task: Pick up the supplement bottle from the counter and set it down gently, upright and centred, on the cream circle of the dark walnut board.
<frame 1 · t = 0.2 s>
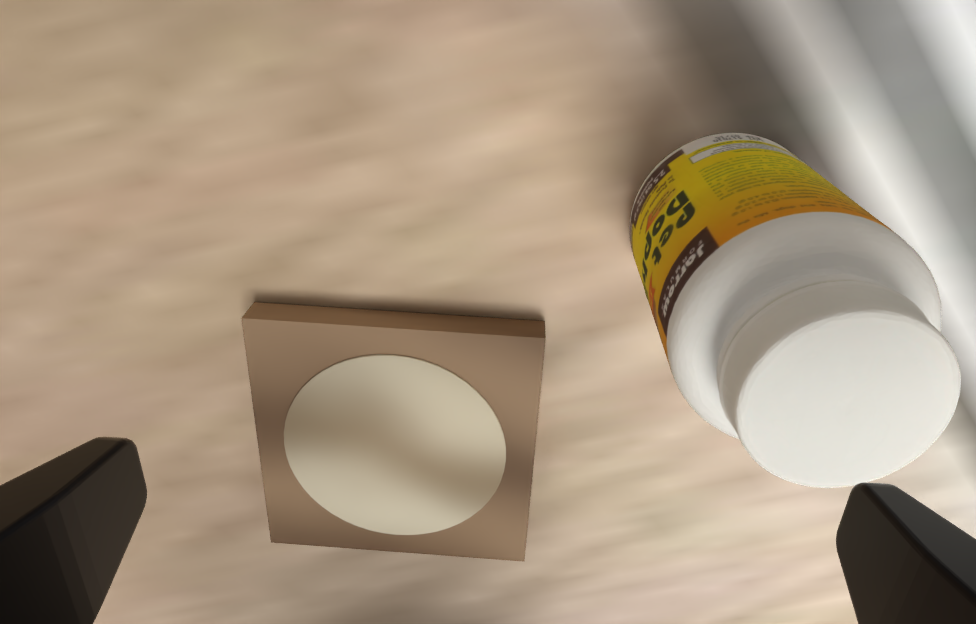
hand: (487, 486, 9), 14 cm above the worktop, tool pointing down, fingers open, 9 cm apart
supplement bottle: (713, 215, 22), on the worktop
walnut board: (400, 430, 26), on the worktop
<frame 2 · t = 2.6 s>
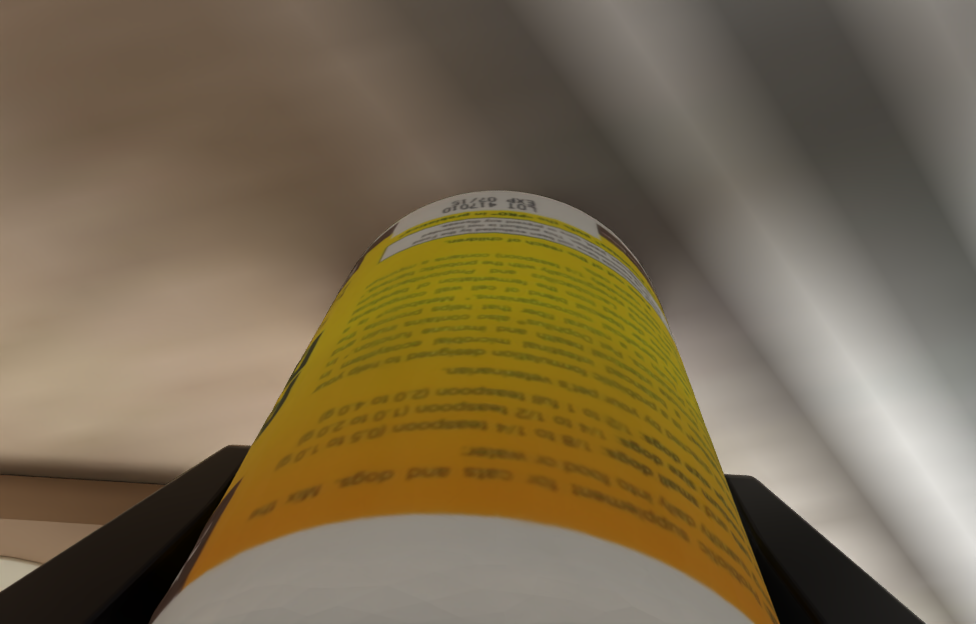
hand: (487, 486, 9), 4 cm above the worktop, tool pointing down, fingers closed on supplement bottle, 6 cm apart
supplement bottle: (499, 327, 12), on the worktop, touching gripper
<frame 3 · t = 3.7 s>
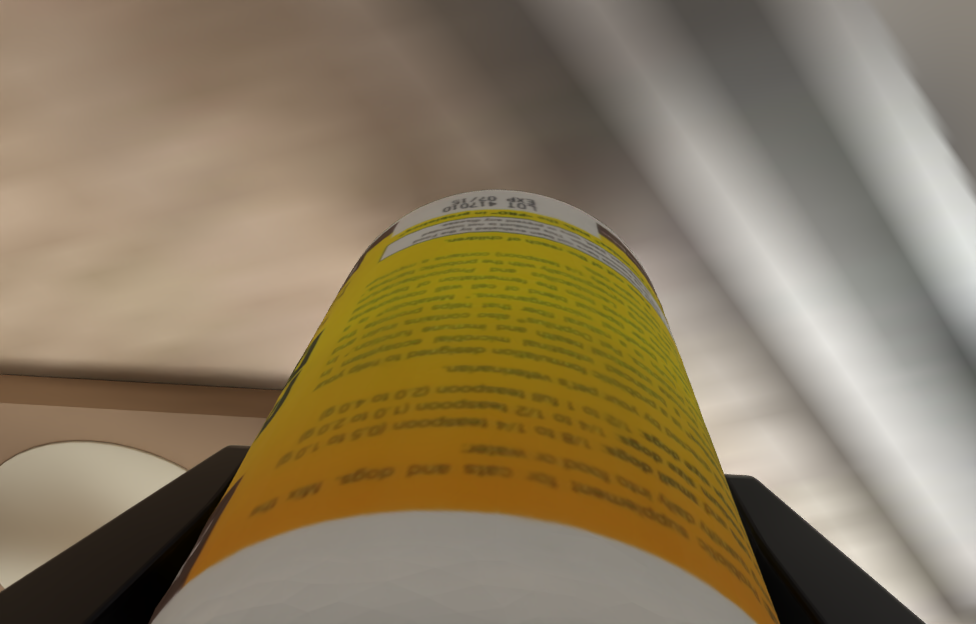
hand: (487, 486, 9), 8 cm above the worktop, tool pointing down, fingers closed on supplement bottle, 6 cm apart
supplement bottle: (499, 326, 13), point 3 cm above the worktop, touching gripper
walnut board: (146, 526, 20), on the worktop
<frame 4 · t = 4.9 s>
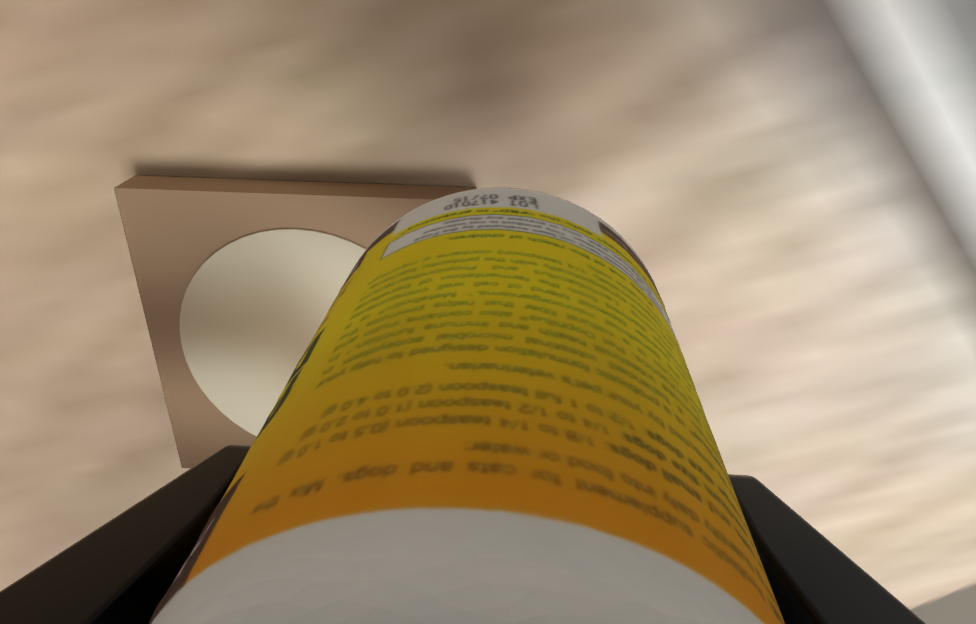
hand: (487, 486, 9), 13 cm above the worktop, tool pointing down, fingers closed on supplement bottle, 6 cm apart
supplement bottle: (501, 325, 12), point 8 cm above the worktop, touching gripper
walnut board: (320, 331, 22), on the worktop
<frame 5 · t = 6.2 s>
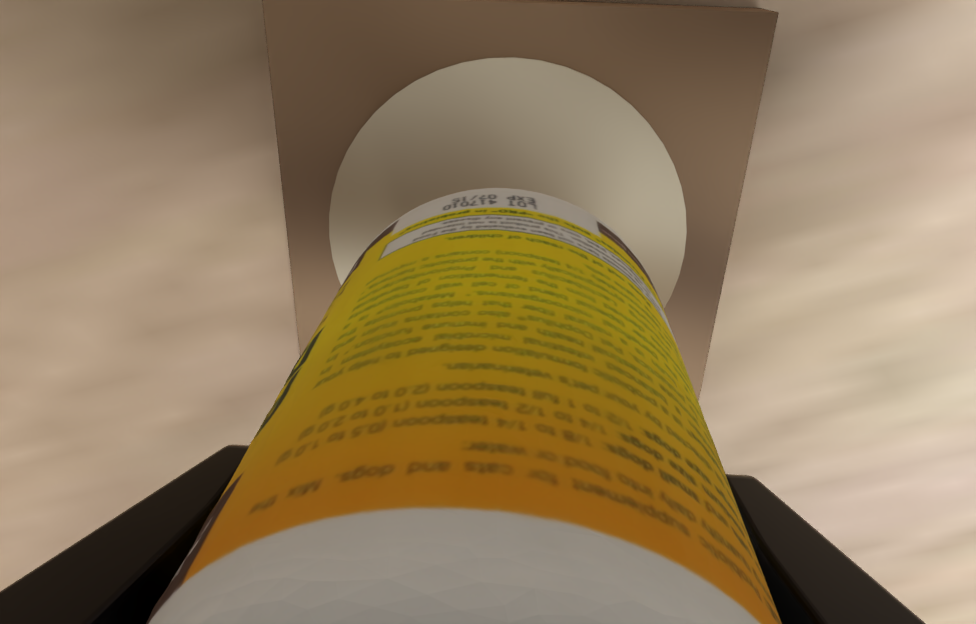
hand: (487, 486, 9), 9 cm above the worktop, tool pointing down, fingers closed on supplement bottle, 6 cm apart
supplement bottle: (499, 325, 12), point 5 cm above the worktop, touching gripper
walnut board: (507, 225, 17), on the worktop
when the fingers open (6 cm above the worktop, at t = 7.4 s): supplement bottle stays where it is, resting on walnut board.
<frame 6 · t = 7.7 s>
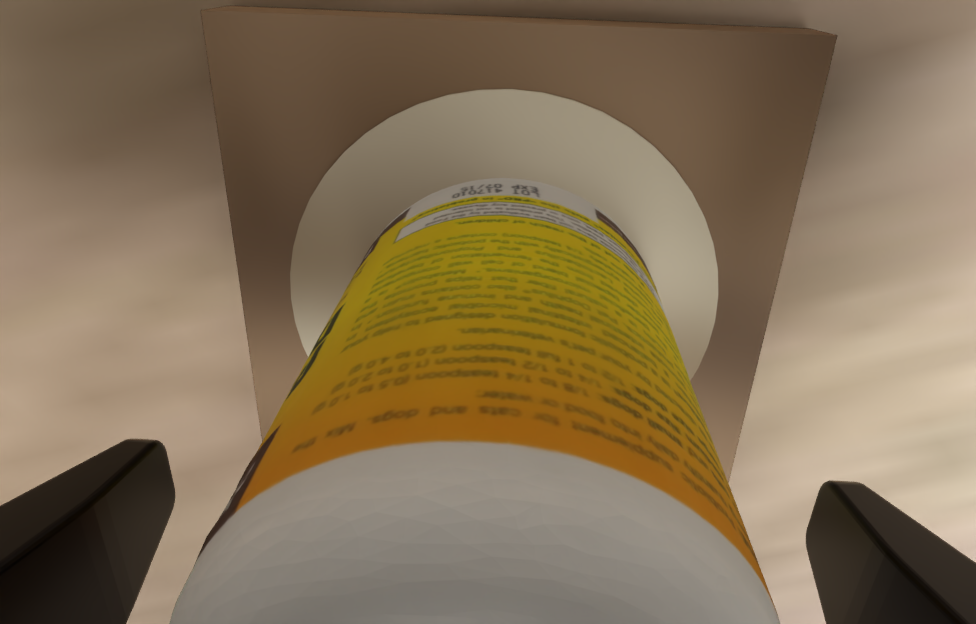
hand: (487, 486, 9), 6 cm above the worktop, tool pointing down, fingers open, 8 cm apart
supplement bottle: (504, 308, 13), point 1 cm above the worktop, touching walnut board
walnut board: (503, 281, 14), on the worktop
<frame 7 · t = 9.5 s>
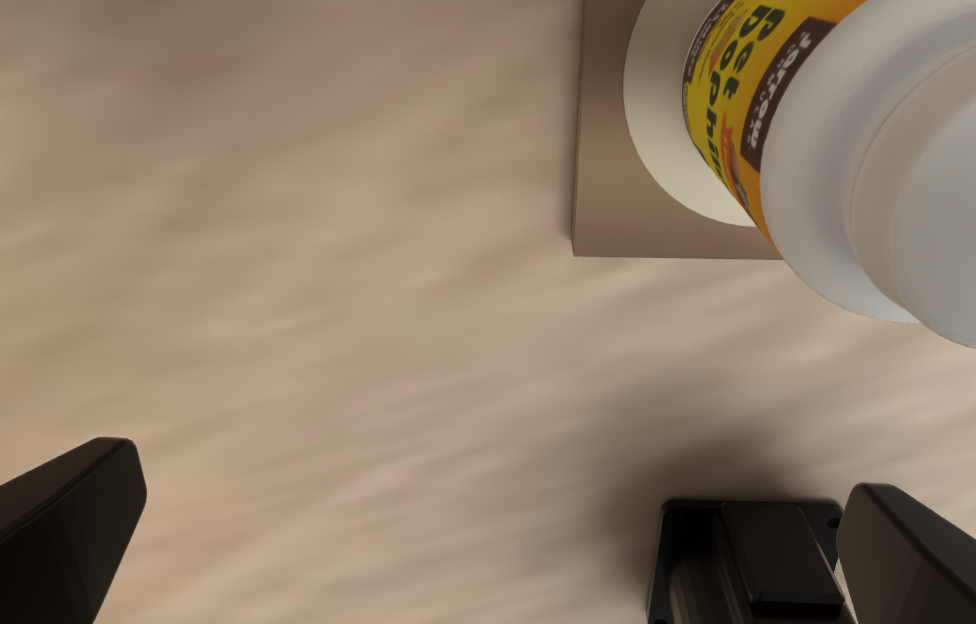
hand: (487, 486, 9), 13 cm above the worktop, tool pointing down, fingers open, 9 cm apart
supplement bottle: (784, 76, 17), point 1 cm above the worktop, touching walnut board
walnut board: (769, 67, 18), on the worktop
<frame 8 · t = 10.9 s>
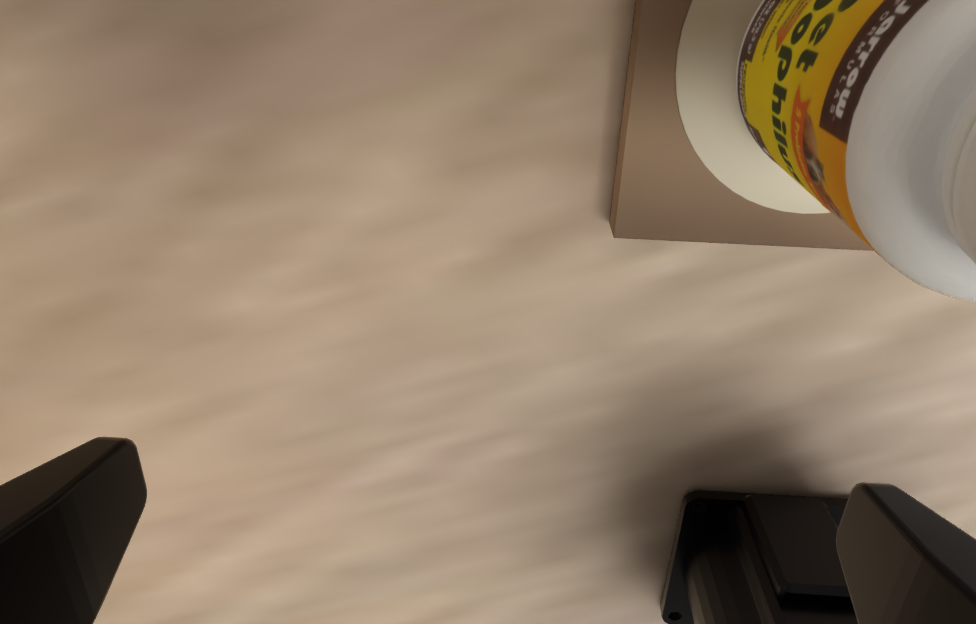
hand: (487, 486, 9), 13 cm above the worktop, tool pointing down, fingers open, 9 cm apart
supplement bottle: (840, 60, 17), point 1 cm above the worktop, touching walnut board
walnut board: (821, 52, 18), on the worktop
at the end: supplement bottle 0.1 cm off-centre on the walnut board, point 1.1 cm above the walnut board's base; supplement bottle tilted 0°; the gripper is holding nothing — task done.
